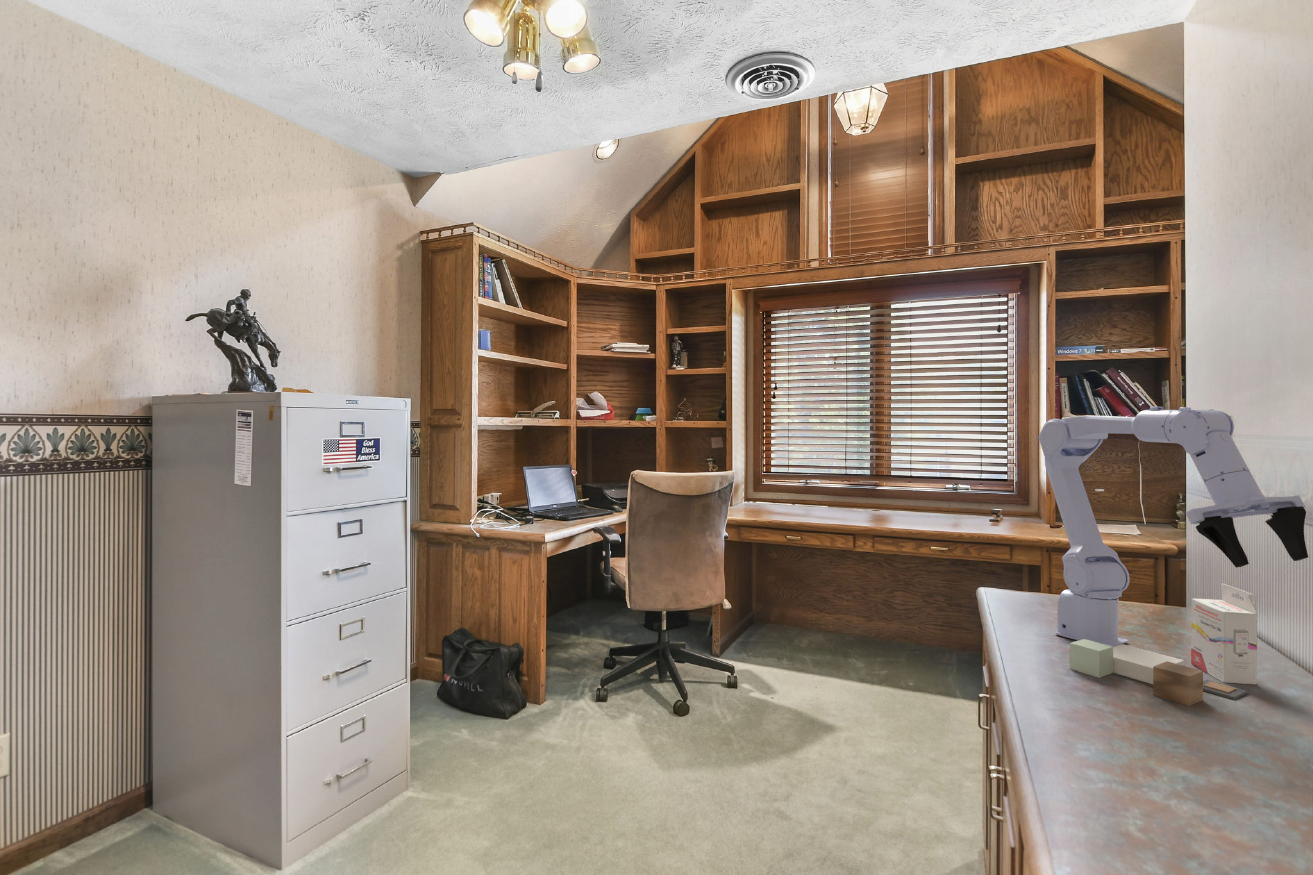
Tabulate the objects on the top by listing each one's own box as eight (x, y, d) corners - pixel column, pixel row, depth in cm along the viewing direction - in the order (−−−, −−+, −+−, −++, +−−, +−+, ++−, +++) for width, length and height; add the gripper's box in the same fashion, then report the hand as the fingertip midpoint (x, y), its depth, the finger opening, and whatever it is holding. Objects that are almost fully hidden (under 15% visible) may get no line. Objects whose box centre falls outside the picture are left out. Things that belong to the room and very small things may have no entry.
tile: (1192, 687, 97) (1192, 683, 97) (1206, 681, 100) (1206, 678, 100) (1234, 699, 93) (1234, 695, 93) (1247, 693, 95) (1247, 689, 95)
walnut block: (1153, 695, 95) (1153, 666, 95) (1166, 689, 97) (1167, 661, 97) (1189, 706, 91) (1189, 676, 91) (1202, 700, 93) (1203, 670, 93)
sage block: (1069, 668, 105) (1070, 642, 105) (1083, 664, 107) (1084, 638, 107) (1099, 678, 101) (1099, 651, 101) (1113, 673, 103) (1113, 646, 103)
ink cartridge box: (1188, 663, 108) (1189, 580, 108) (1221, 666, 107) (1222, 582, 107) (1222, 683, 99) (1223, 592, 99) (1258, 685, 98) (1259, 594, 98)
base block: (1095, 669, 106) (1095, 652, 106) (1122, 660, 110) (1122, 644, 110) (1158, 688, 98) (1158, 669, 98) (1183, 678, 102) (1184, 660, 102)
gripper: (1189, 475, 94) (1232, 562, 88) (1297, 461, 92) (1349, 549, 86) (1166, 491, 101) (1205, 573, 95) (1266, 478, 98) (1313, 561, 92)
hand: (1271, 562), depth 91 cm, fingers open, 7 cm apart
